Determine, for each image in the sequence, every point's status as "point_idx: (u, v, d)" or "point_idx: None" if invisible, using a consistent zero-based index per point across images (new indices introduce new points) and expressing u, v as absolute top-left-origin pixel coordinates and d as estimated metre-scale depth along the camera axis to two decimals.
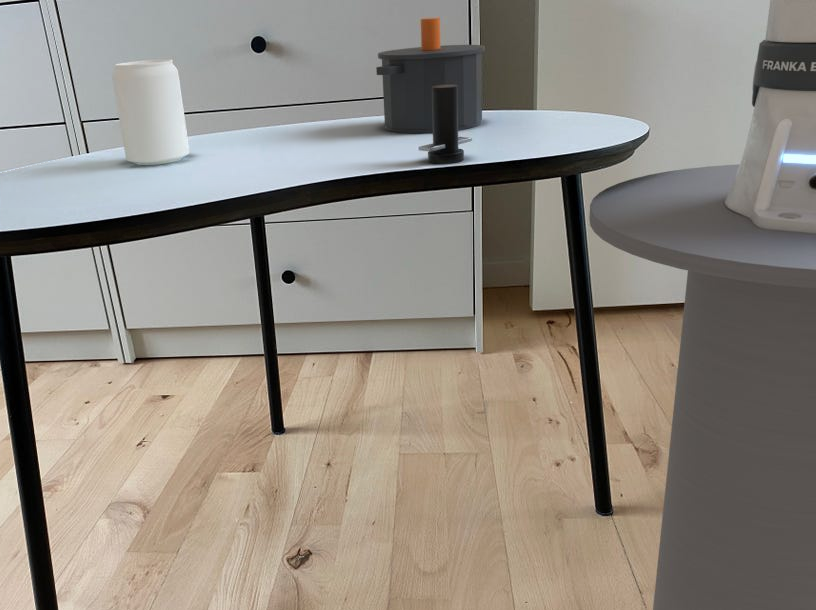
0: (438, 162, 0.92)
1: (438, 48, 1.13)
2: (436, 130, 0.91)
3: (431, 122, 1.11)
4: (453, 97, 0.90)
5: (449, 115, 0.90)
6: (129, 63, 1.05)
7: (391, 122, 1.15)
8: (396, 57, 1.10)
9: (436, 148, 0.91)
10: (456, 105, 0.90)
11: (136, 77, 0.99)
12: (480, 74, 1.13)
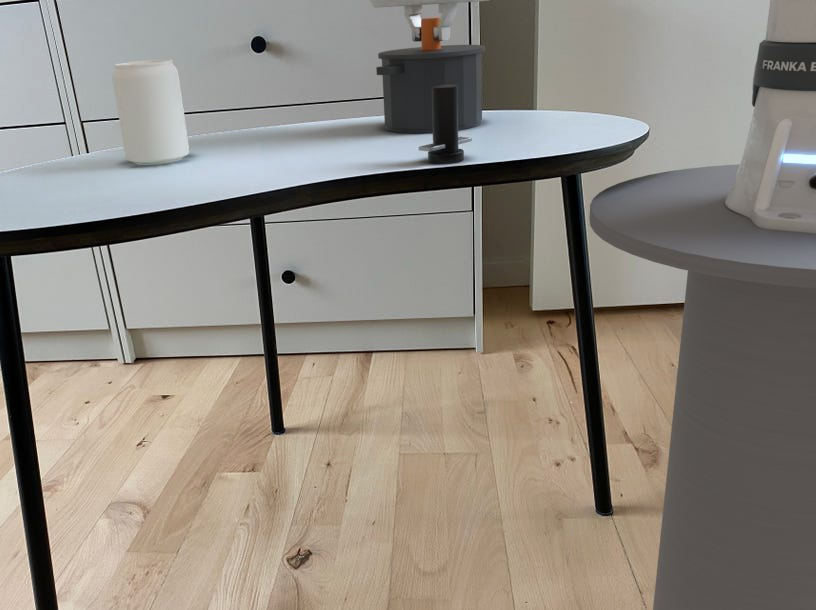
0: (438, 162, 0.92)
1: (438, 48, 1.13)
2: (436, 130, 0.91)
3: (431, 122, 1.11)
4: (453, 97, 0.90)
5: (449, 115, 0.90)
6: (129, 63, 1.05)
7: (391, 122, 1.15)
8: (396, 57, 1.10)
9: (436, 148, 0.91)
10: (456, 105, 0.90)
11: (136, 77, 0.99)
12: (480, 74, 1.13)
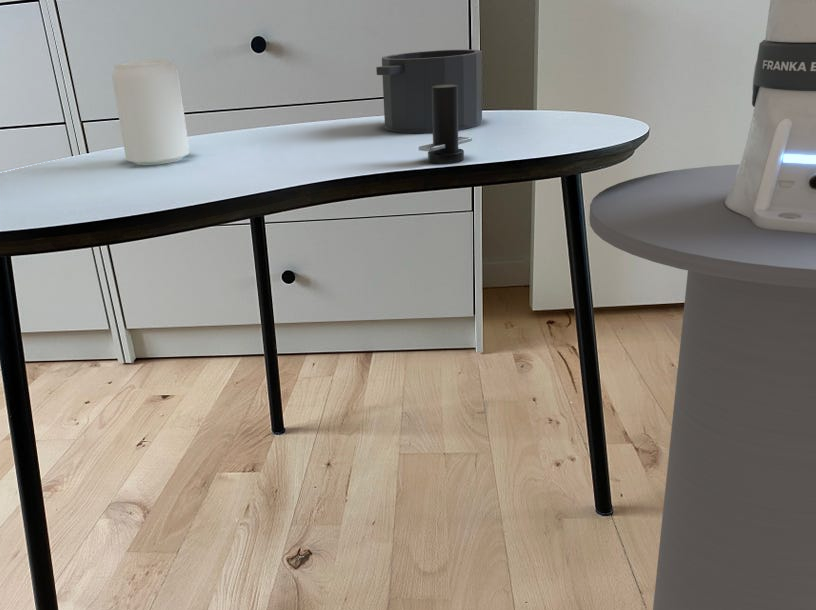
0: (438, 162, 0.92)
1: None
2: (436, 130, 0.91)
3: (431, 122, 1.11)
4: (453, 97, 0.90)
5: (449, 115, 0.90)
6: (129, 63, 1.05)
7: (391, 122, 1.15)
8: None
9: (436, 148, 0.91)
10: (456, 105, 0.90)
11: (136, 77, 0.99)
12: (480, 74, 1.13)
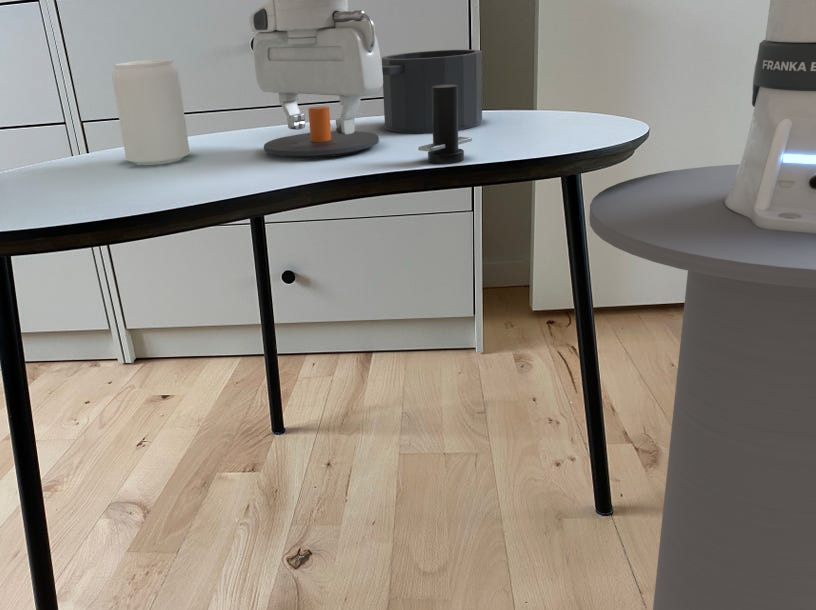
0: (438, 162, 0.92)
1: (328, 139, 1.04)
2: (436, 130, 0.91)
3: (431, 122, 1.11)
4: (453, 97, 0.90)
5: (449, 115, 0.90)
6: (129, 63, 1.05)
7: (391, 122, 1.15)
8: (278, 152, 1.01)
9: (436, 148, 0.91)
10: (456, 105, 0.90)
11: (136, 77, 0.99)
12: (480, 74, 1.13)
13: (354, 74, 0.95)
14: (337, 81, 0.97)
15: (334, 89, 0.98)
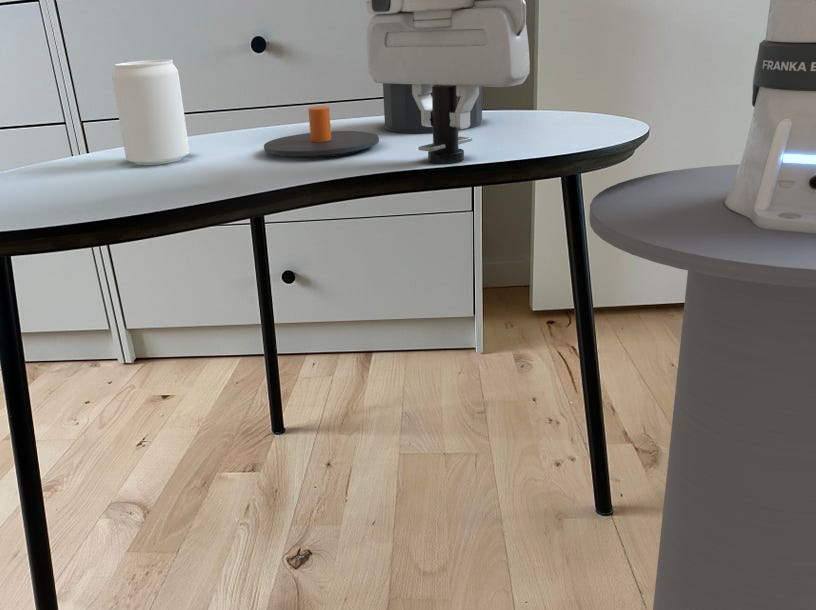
0: (438, 162, 0.92)
1: (328, 139, 1.04)
2: (436, 130, 0.91)
3: None
4: (453, 97, 0.90)
5: None
6: (129, 63, 1.05)
7: (391, 122, 1.15)
8: (278, 152, 1.01)
9: (436, 148, 0.91)
10: (456, 105, 0.90)
11: (136, 77, 0.99)
12: None
13: (499, 61, 0.82)
14: (476, 69, 0.84)
15: (470, 78, 0.85)
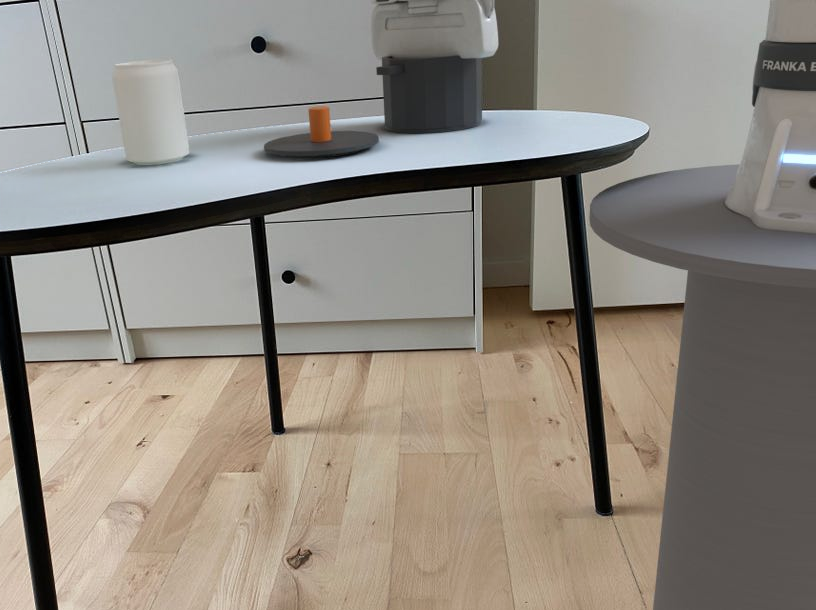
0: None
1: (328, 139, 1.04)
2: None
3: (431, 122, 1.11)
4: None
5: None
6: (129, 63, 1.05)
7: (391, 122, 1.15)
8: (278, 152, 1.01)
9: None
10: None
11: (136, 77, 0.99)
12: (480, 74, 1.13)
13: (474, 38, 1.06)
14: (457, 44, 1.08)
15: (452, 52, 1.09)
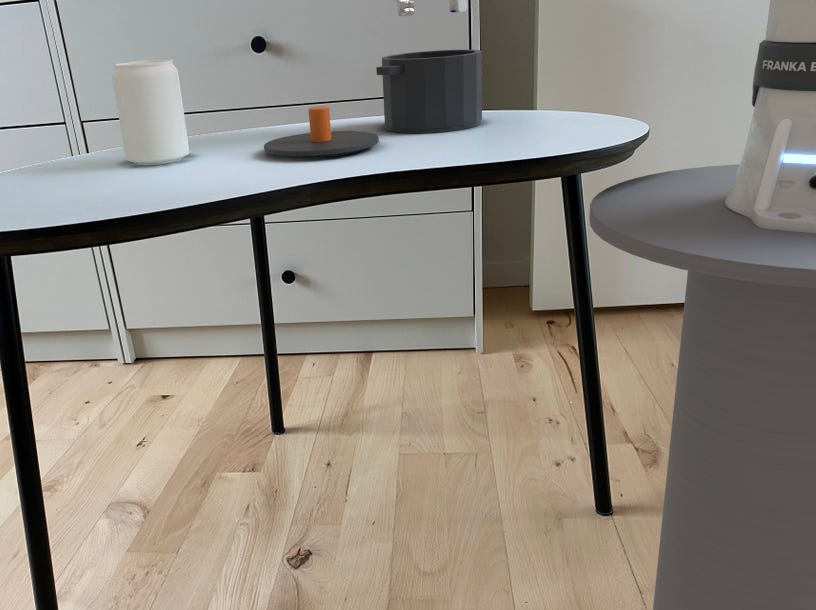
0: None
1: (328, 139, 1.04)
2: None
3: (431, 122, 1.11)
4: None
5: None
6: (129, 63, 1.05)
7: (391, 122, 1.15)
8: (278, 152, 1.01)
9: None
10: None
11: (136, 77, 0.99)
12: (480, 74, 1.13)
13: None
14: None
15: None
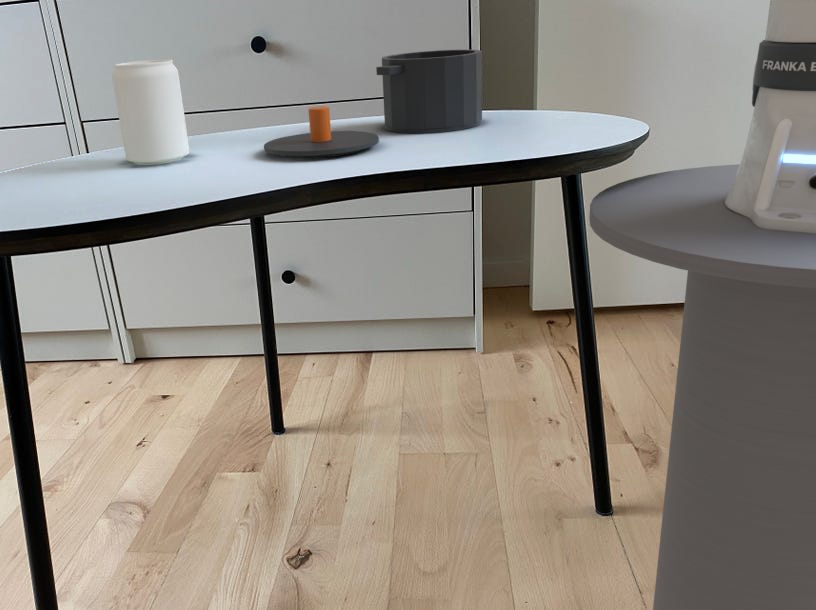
0: None
1: (328, 139, 1.04)
2: None
3: (431, 122, 1.11)
4: None
5: None
6: (129, 63, 1.05)
7: (391, 122, 1.15)
8: (278, 152, 1.01)
9: None
10: None
11: (136, 77, 0.99)
12: (480, 74, 1.13)
13: None
14: None
15: None
